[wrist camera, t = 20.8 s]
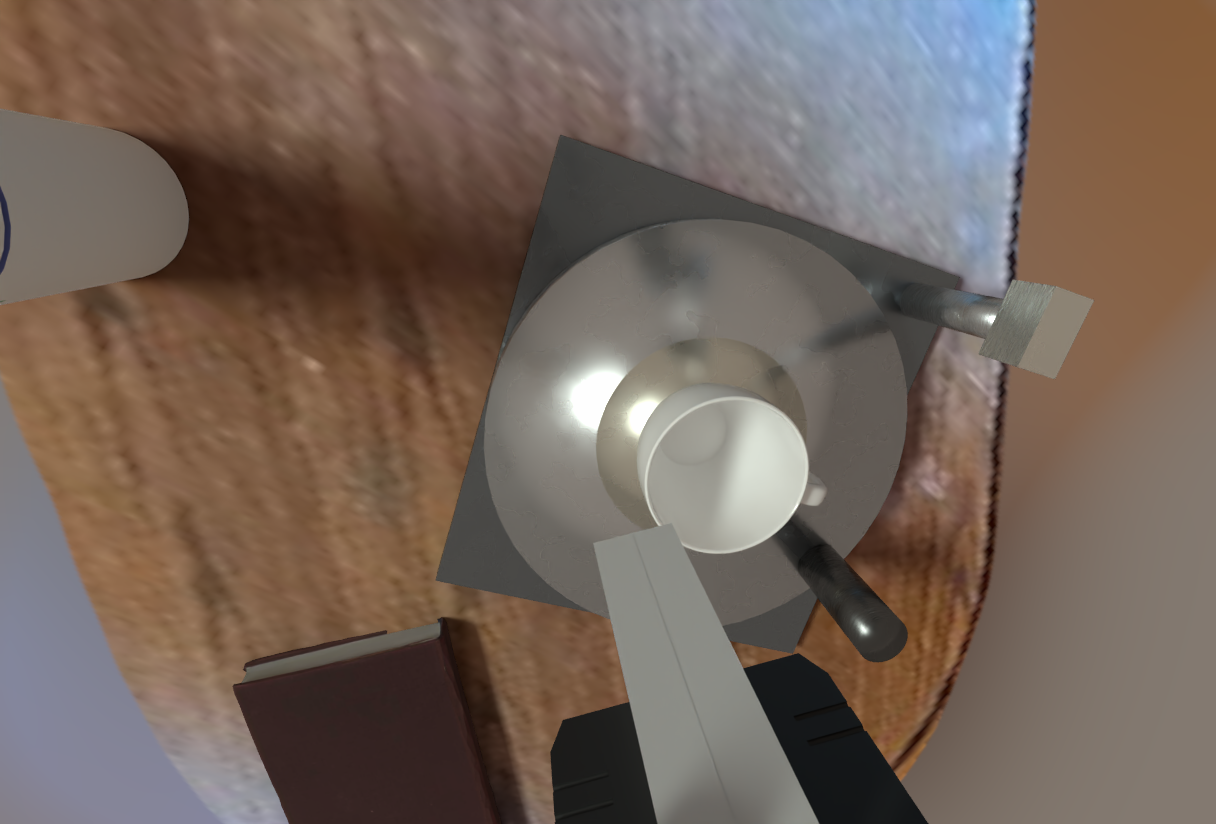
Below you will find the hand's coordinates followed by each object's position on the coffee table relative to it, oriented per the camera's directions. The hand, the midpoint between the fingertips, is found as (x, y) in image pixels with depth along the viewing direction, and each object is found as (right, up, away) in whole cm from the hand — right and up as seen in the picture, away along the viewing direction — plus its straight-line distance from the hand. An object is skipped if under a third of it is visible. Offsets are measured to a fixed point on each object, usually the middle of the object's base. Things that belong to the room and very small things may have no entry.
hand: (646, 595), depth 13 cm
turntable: (+4, +2, +26) cm, 27 cm away
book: (-15, -19, +32) cm, 41 cm away
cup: (+5, +2, +25) cm, 25 cm away
